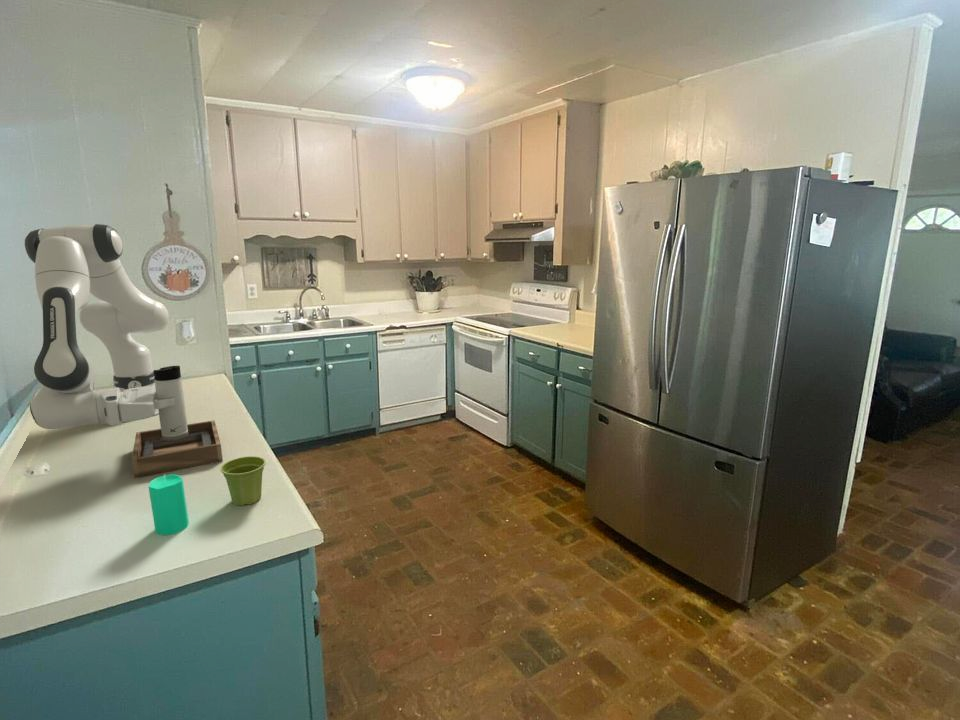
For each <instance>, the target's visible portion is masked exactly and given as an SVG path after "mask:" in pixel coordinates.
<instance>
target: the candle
mask: <svg viewBox="0 0 960 720" xmlns="http://www.w3.org/2000/svg"><path fill="white" fill-rule="evenodd" d="M184 487H185V486H184V481H183V478H182V477H181V475H178V474H175V473H173V474H166V473H163V475H162V476H158V477H156V478H154V479H152V480H151V481H150V482H149V484H148V493H149V499H150V504H151V511H152V517H153V523H154V531H155V533H156V534H157V535H159V536H169V535H175V534H177V533H180V532H182V531H184V530H185V529H186V528H188V527H189V524H190V523H189V516H188V510H187V509H188V507H187V501H186V494H185V488H184Z"/></svg>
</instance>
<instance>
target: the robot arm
mask: <svg viewBox="0 0 960 720" xmlns="http://www.w3.org/2000/svg"><path fill="white" fill-rule="evenodd" d="M24 248H25V251H26V254H27V256H28V258H29V260H30V261H32V262H33V263H34V264H35V265H34V274H35V275H34V276H35V277H34V279H35V287H36V292H37V297H38V300H39V303H40V305H41V310H42V334H43V336H42V337H43V340H42V346H41V350H40V351H39V354H38V356H37V358H36V360H35V363H34V366H33V373H34V375H35V378H36V379H37V381H38V382H39V383H40V384H41V387H40V388H39V391H38V392H37V393H36V395H35V396H34V398H32V399H31V400H30V401H29V411H30V414H31V417H32V420H34V422H35V424H36V425H37V426H38V427H40V428H42V429H44V430H45V429H46V430H62V429H63V430H64V429H73V428H80V427H83V426H86V425H92V424H94V425H101V424H102V425H103V424H107V425H109V426H111V427H117V426H120V425H122V423H130V422H135V421H141V420H146V419H149V418H150V419H151V417H154V416H156V415H159V411H158V409H161V408H164V407H167V406H172V405H175V398H167V399H164V400H157V396H156V388H155V381H154V377H155V376H154V372H153V371H154V367H153V366H154V365H153V359H152V353H151V350H150V349H149V347H147V346H146V345H144V344H142V343H140V342H138V341H136V340H135V338H133V337H132V335H131V334H149V333H150V334H151V333H154V332H160V331H163V330H164V329H165V328H167V325H168V324H169V320H170V319H169V318H170V313H169V311H168V309H167V308H166V306H165V305H164V304H163V303H162V302H160V301H157V300H155V299H153V298H151V297H149V296H147V295H146V294H145V293H144V292H142V291H140V290H139V289H138V288H137V286H135V285H134V283H132V281H131V279H130V277H129V275H128V274H127V273H126V270H125V268H124V266H123V265H122V262H121V260H120V257H121V256H122V254H123V241H122V238H121V237H120V234H119V233H118V231H117V230H116V229H115V228H113V227H112V226H111V225H107V224H102V223H96V224H94V225H93V224H70V225H69V224H68V225H66V226H55V227H51V228H39V229H34V230H31V231H30V232H28V234H27V235H26V237H25V238H24ZM90 294H91V295H92V296H93V297H94V298H96V299H98V300H99V301H93V302H90V303H89V301H90ZM79 311H80V312H79ZM78 312H79V323H80V325H81V326H82V327H83V328H84V329H85V330H86V331H87V332H89V333H90V334H92V335H94V337H96V338H98V339H99V340H100V341H101V343H103V345H104V346H105V347H106V350H107V351H108V353H109V356H110V360H111V364H112V368H113V384H114V387H111V388H110V387H109V388H102V389H101V388H100V389H99V388H98V389H94V388H95V382H96V381H95V380H96V372H95V370H94V367H93V366H92V365H91V364H90V363H89V361H88V360H87V359H86V357H85V355H84V354H83V353H82V351H81V350H80V347H79V345H78V335H77V334H78V331H77V330H78V329H77V328H78V327H77V314H78Z"/></svg>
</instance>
